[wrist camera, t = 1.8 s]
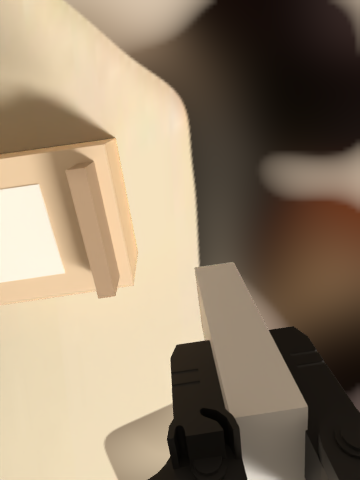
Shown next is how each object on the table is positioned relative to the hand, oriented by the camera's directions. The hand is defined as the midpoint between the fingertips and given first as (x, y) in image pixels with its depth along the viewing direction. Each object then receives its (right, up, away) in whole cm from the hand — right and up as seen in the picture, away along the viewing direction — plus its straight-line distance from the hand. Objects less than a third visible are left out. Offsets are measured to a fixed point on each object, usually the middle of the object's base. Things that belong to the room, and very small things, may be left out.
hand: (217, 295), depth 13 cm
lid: (-13, +3, +12) cm, 18 cm away
